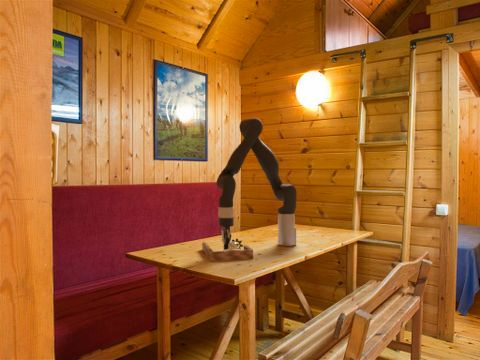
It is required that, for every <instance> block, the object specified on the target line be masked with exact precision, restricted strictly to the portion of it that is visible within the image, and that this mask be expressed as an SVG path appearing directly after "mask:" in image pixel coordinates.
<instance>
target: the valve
mask: <svg viewBox="0 0 480 360" xmlns="http://www.w3.org/2000/svg"><path fill="white" fill-rule="evenodd" d="M242 242H243V240H239V238H238V237H237V238H235V239H234V238H233V239H232V240H230V242H229V247H228V249H241V250H242V248H244V244H241V243H242Z"/></svg>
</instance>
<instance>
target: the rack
mask: <svg viewBox="0 0 480 360" xmlns="http://www.w3.org/2000/svg"><path fill="white" fill-rule="evenodd" d="M201 247H202V248H201V249H202V252H203V253H204V254H205V255H206V257H207V259H209V261H210V262H219V261H220V262H221V261H235V260H250V259H254V249H252V248H251V247H250V246H248V245H245V244H243V249H242V248H241V249H227V250H224V249H223V250H219V251H217V250H216V251H214V250H213V249H212V248H211V247H210V246H209V245H208V244H207V242H205V241H202V243H201Z"/></svg>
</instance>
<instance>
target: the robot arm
mask: <svg viewBox="0 0 480 360" xmlns="http://www.w3.org/2000/svg"><path fill="white" fill-rule="evenodd" d="M238 128H239V133H240V134H241V136H242V137H243V140H241V142H240V144H239V145H238V146H237V147H236V148H235V149H234V150H233V151H232V153H231V155H230V156H229V159H228V160H227V162H226V165H225V167H224V168H223V170H222V171H220V174H219V175H218V176H217V179H216V186H217V188H218V189H220V190H222V193H221V195H219V197H218V210H217V211H218V214H217V215H218V217H217V219H218V224H217V226H218V227H222V229H221V231H220V234H221V238H222V239H221V240H222V241H221V242H222V244H223V250H227V249H228V247H229V242H230V241H232V240H231V239H232V237H233V236H232V230H231V227H234V226H235V224H234V223H235V219H234V217H235V211H234V196H235V192H236V188H237V182H236V179H235V178H234V176H235V175H237V174H238V173H240V170H241V168H242V167H243V164H244V161H245V159H246V157H247V156H248V154H249V152H250V151H252V152H253V155H254V156H255V158H256V159H257V163H259V166H260V168H261V169H262V171H263V173H264V174H265V176H266V178H267V180H268V183H269V184H270V186H271V190H272V192H273V194H274V196H275V198H276V199H277V200H278V201H282V202H283V205H282V206H281V207H280V206H279V208H278V209H277V232H278V233H277V245H278V246H283V247H284V246H285V247H288V246H289V247H291V246H296V245H297V227H296V221H295V220H296V218H295V217H296V216H295V215H296V214H295V213H296V210H297V209H296V208H297V199H298V198H297V197H298V196H297V193H298V192H297V188H296V186H294V184H287V183H283V182H282V179H281V178H280V175H279V174H280V173H279V172H280V165H279V161H278V159H277V157H276V155H275V154H274V152H273V150H271V148H269V147H268V145H266V144H265V143H264V142H263V141H262V139H261V138H260V135H261V133H262V132H263V128H264V126H263V121H261V120H260V119H259V118H255V117H253V118H247V119H243V120H242V121H240V122H239V125H238Z"/></svg>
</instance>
